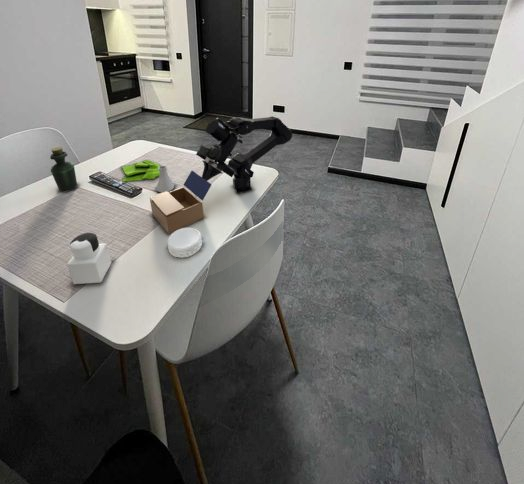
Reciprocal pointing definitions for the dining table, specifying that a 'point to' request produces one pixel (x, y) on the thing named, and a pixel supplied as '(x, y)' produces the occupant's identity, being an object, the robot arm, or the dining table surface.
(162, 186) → the flask
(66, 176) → the potion bottle
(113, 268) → the dining table surface
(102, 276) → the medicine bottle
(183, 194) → the carton
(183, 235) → the white round disc
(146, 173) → the cloth
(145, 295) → the dining table surface
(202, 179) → the flap
